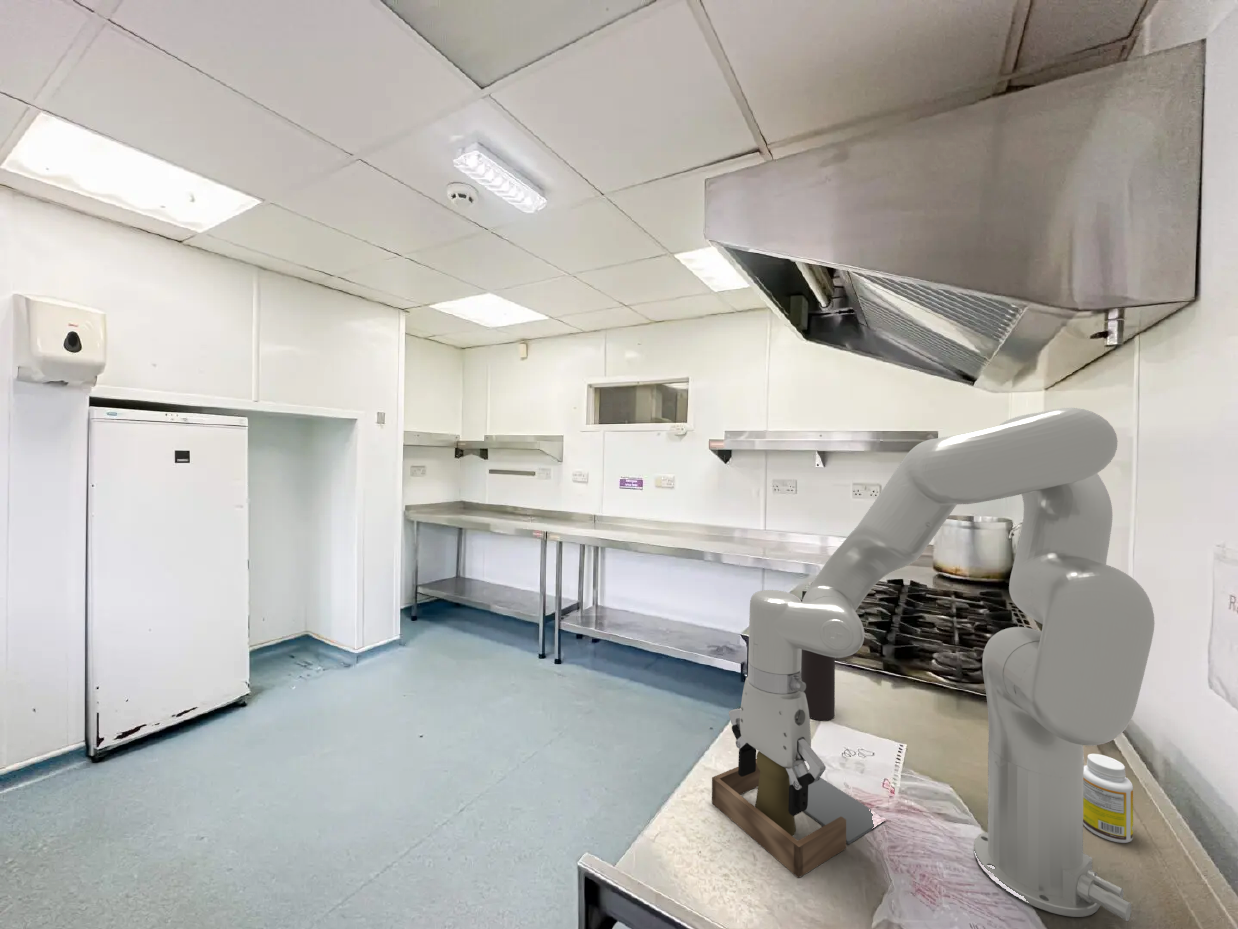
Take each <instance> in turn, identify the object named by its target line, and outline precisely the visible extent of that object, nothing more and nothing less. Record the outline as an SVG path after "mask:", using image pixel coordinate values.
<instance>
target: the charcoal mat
mask: <svg viewBox="0 0 1238 929" xmlns="http://www.w3.org/2000/svg"><path fill="white" fill-rule="evenodd" d="M794 767H795V770H796V772H797V774H798V776H799V777H801V776H802V775H801V773H800V771H799V769H798V767H797V766H794ZM789 780H790V785H792V781H791V779H790V777H789ZM869 809H870V811H869ZM802 813H804V814H805V815H807V816H808V817H811V819H813V820H814V821H815V822H817V823H818V824H819V825H821V827H823V826H825V825H826V824H828V823H830V822H832V821H834V820H835V819H837V818H839V817H843V818H844V819H846V845H847V844H848V845H850V844H851V843H854V842H855V841H856V840H858V839H859V838H861V837H863V836H865V835H866V834H868V833H870V832H871V831H873V830H872V828H873V827H874V824H873V820H872V816H873V814H872V813H871V808H870V807H868V806H867V805H865V804H863V803H862V802H860V801H859V800H857V799H856V798H854V797H852V796H851V795H849V794H848V793H846V792H845V791H843V790H841V789H840V788H838V787H837V786H835V785H833V784H832V783H830V782H828V781H827V780H825V779H824V778H822V776H821V777H820V779H819V780H818V781H816V782H814V783H812V784H810V785H808V806H807V809H806V810H805V811H803V812H802Z"/></svg>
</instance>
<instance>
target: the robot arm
mask: <svg viewBox="0 0 1238 929" xmlns="http://www.w3.org/2000/svg"><path fill="white" fill-rule="evenodd" d="M1118 442H1119V441H1118V435H1117V432H1116V431H1115V429H1114V427H1113V425H1112V424H1111V423H1110V422H1109V421H1108V420H1107V419H1105V418H1104V417H1102V416H1101V415H1100V414H1098V413H1095V412H1093V411H1091V410H1087V409H1084V408H1077V407H1061V408H1055V409H1050V410H1045V411H1040V412H1039V411H1038V412H1034V413H1027V414H1024V415H1018V416H1015V417H1012V418H1010V419H1007V420H1006V421H1004V422H1001V423H1000V424H999V425H996V426H992V427H988V428H983V429H979V430H975V431H971V432H966V433H965V432H964V433H961V434H956V435H950V436H944V437H938V438H931V439H927V440H924V441H922V442H920V443H918V444H916V445H915V446H913V448H911V449H910V450H909V451H908V452H907V454H906V455H905V457H904V458H903V459H902V460H901V462H900V464H899V465H898V466H897V468H896V469H895V471H894V472H893V474H892V475H891V477H890V478H889V479H888V480H887V482H886V484H884V487H883V489H882V490H881V491H880V493H879V494H878V495H877V497H876V499H875V500H874V502H873V503H872V505H871V506H870V507H869V509H868V510H867V512H866V513H865V514H864V516H863V518H862V519H861V520H860V522H859V523H858V524H857V526H856V527H855V528H854V529H853V530H852V531H851V532H850V533H849V534H848V535H847V537H846V538H845V540H844V541H843V542H842V543H841V544H840V545H839V546H838V547H837V549H836V550H835V551H834V552H833V554H832V555H831V556H830V557H829V559H828V560H827V561H826V562H825V564H824V565H823V567H822V568H821V570H820V571H819V572H818V574H817V575H816V576H815V578H814V580H813V582H812V583H811V584H810V585H809V588H807V591H806V592H805V594H804V596H803V598H802V600H801V599H800V598H799V597H798V596H797V595H795V594H793V593H792V592H788V591H785V590H777V589H775V590H774V589H763V590H759V591H756V592H755V593H753V594H752V596H751V597H750V602H749V621H748V622H749V623H748V624H749V626H748V654H747V655H748V663H747V677H746V678H745V680H744V685H743V690H742V696H741V703H740V708H734V709H732V710H729V711H728V716H729V720H730V723H731V725H732V726H731V731H732V734H733V735H734V737H735V746H736V748H737V749H738V762H737V763H738V766H737V767H738V774H739V775H740V776H741V777H744V776H746V775H748V774H751V773H753V772H755V771H756V759H757V752H758V751H760V752H761V753H762V754H764V755H765V756H767V757H768V758H770V759H771V760H773V761H774V762H776V763H777V764H779V765H781V766H782V767H784V768H786V770H787V772H788V775H789V777H790V779H791V781H792V785H790V786H789V805H788V811H789V814H791V815H792V816H794V817H795V816H797V815H799V814H800V813H804V812H803V811H805V810H806V809H807V806H808V785H810V784H812V783H814V782H816V781H818V780H819V779H820V777H821V778H822V776H823V773H824V772H826V771H825V770H826V768H827V767H826V765H825V763H824V762H823V761H822V759H821V758H820V757H819V755H818V754H816V752H815V751H814V750H813V748H812V737H811V736H812V734H811V731H812V730H811V721H810V720H811V718H810V717H809V709H808V704H807V699H806V695H805V693H804V691H805V689H806V684H805V683H804V682H802V680H801V657H802V649H804V650H807V651H811V652H814V653H817V654H821V655H824V656H829V657H835V659H836V658H839V659H841V658H842V659H843V658H847V657H851V656H853V655H855V654H856V653H857V652H858V651H859V650H860V649H861V647H862V646H863V644H864V641H865V629H864V625H863V622H862V620H861V619H860V617H859V614H858V613H857V612H856V611H857V610H858V608H859V607H860V605H861V604H862V603H863V601H864V600H865V598H866V597H867V596H868V594H869V593H870V592H871V590H872V589H873V588H874V587H875V586H876V584H878V583H879V581H881V580H882V579H883V578H884V577H886V576H887V575H889V574H890V573H893V572H895V571H897V570H899V569H903V568H905V567H907V566H909V565H911V564H913V563H915V562H916V561H917V560H918V559H919V558H920V557H921V556H922V555H923V553H924V551H925V550H926V548H927V547H928V546H929V545H930V543H931V542H932V540H933V539H934V538H935V536H936V535H937V534H938V532H939V531H940V529H941V528H942V526H943V525H944V524H945V522H947V521H946V520H947V519H948V517H949V516H950V515H951V514H952V512H953V511H954V510H955V508H956V507H957V505H972V504H979V503H985V502H990V501H995V500H1001V499H1004V498H1005V499H1006V498H1011V497H1014V496H1020V495H1021V497H1022V501H1023V502H1022V503H1023V515H1022V516H1023V519H1022V524H1021V530H1020V536H1019V539H1018V544H1017V548H1016V551H1015V556H1014V560H1013V565H1012V569H1011V573H1010V578H1009V584H1008V585H1009V586H1008V591H1009V596H1010V598H1011V600H1012V602H1013V604H1014V605H1015V606H1016V607H1017V609H1019V610H1020V611H1021V612H1022V613H1024V614H1025V615H1026V616H1028V617H1029V618H1031V619H1032V620H1034V621H1036V622H1037V623H1039V624H1041V625H1042V628H1041V630H1039V629H1034V628H1030V627H1023V626H1013V627H1007V628H1005V629H1001V630H1000V631H998V632H996V633H994V634H993V635H992V636H991V637H990V638H989V639H988V641H987V643H986V645H985V647H984V650H983V653H982V675H983V682H984V688H985V693H986V694H985V695H986V701H987V702H986V703H987V715H988V716H987V720H988V723H987V725H988V743H987V746H988V747H987V748H988V750H987V751H988V752H987V756H988V757H987V759H988V761H987V769H988V770H987V831H986V832H982V833H981V834H978V836H976V837H975V839H974V842H973V852H974V851H975V853H976V856H977V858H978V859H979V861H980V862H981V864H982V865H984V867H985V868H986V869H987V870H988V871H990V872H991V873H993V874H994V876H995V877H997V878H998V879H999V881H1001V882H1002V883H1003V884H1005V885H1006V886H1007V887H1009V888H1010V889H1012V890H1013V891H1015V892H1016V893H1018V894H1019V895H1021V896H1024V898H1025V899H1026V901H1028V902H1029V904H1028V905H1031V906H1033V907H1034V908H1038V909H1040V910H1043V911H1045V912H1047V913H1052V914H1055V915H1060V916H1066V917H1073V918H1075V917H1077V918H1079V917H1081V918H1082V917H1087V916H1091V915H1093V914H1094V913H1096V912H1098V910H1099V909H1100V907H1103V908H1105V910H1107V911H1109V912H1110V913H1113V914H1114V915H1115V916H1117V917H1119V918H1121V919H1122V920H1124V921H1126V922H1129V920H1130V918H1131V915H1132V903H1131V902H1129V901H1128V900H1125V899H1124V888H1123V887H1120V886H1119V885H1117V884H1115V883H1113V882H1112V881H1110V880H1107V879H1105V878H1102V877H1101V876H1099V875H1098V873H1097V872H1096V871H1094V870H1093V857H1092V856H1090V855H1088V854H1086V853H1084V825H1083V772H1084V766H1085V762H1084V761H1085V756H1084V746H1088V747H1090V746H1092V747H1093V746H1099V745H1104V744H1106V743H1109V742H1112V741H1114V740H1115V739H1116V738H1118V737H1119V736H1120V735H1121V734H1122V733H1123V732H1124V731H1125V730H1126V729H1127V727H1128V726H1129V724H1130V722H1131V721H1132V719H1133V717H1134V713H1135V711H1136V708H1137V704H1138V700H1139V696H1140V694H1141V693H1140V692H1141V689H1142V688H1141V687H1142V684H1143V681H1144V675H1145V672H1146V669H1147V664H1148V658H1149V656H1150V651H1151V646H1152V642H1153V638H1154V633H1155V632H1154V631H1155V614H1154V610H1153V609H1154V608H1153V605H1152V603H1151V600H1150V597H1149V596H1148V594H1147V592H1146V591H1145V589H1144V587H1142V586H1141V585H1140V583H1138V581H1137V580H1135V579H1134V578H1133V577H1132V576H1131V575H1129V574H1128V573H1126V572H1124V571H1122V570H1121V569H1118V568H1116V567H1114V566H1111V565H1108V564H1107V560H1108V555H1109V554H1108V553H1109V547H1110V541H1111V534H1112V526H1113V506H1112V504H1113V503H1112V500H1111V497H1110V494H1109V492H1108V490H1107V487H1106V485H1105V483H1104V482H1103V480H1102V477H1101V476H1100V475H1099V473H1100V472H1101V471H1102V470H1105V468H1106V467H1107V466H1108V465H1109V464H1111V462H1112V460H1113V459H1114V457H1115V455H1116V452H1117V450H1118ZM806 763H807V764H806ZM807 765H808V766H807ZM794 766H797V767H798V769H799V771H800V773H801V775H802V776H801V777H799V776H798V774H797V772H796V770H795V767H794ZM808 767H809V768H808ZM987 865H992V866H994V867H995V869H992V868H990V867H988V866H987Z"/></svg>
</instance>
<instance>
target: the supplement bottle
mask: <svg viewBox="0 0 1238 929" xmlns="http://www.w3.org/2000/svg"><path fill="white" fill-rule="evenodd" d="M1083 827H1085V828H1086V829H1087V830H1088V831H1090V832H1091V833H1092V834H1095V835H1096V836H1099V837H1100V838H1101V839H1102V838H1103V839H1104V840H1107V841H1110V842H1113V843H1114V842H1115V843H1120V844H1121V843H1122V844H1127V843H1130V842H1132V841H1133V839H1134V787H1133V783H1132V782H1131V780H1130V779H1129V778H1128V777H1126V766H1125V765H1124V763H1122V762H1121V761H1119V760H1117V759H1115V758H1112V757H1110V756H1107V755H1104V754H1100V753H1088V754H1087V758H1086V765H1085V764H1084V772H1083Z"/></svg>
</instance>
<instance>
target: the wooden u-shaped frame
mask: <svg viewBox="0 0 1238 929" xmlns="http://www.w3.org/2000/svg"><path fill="white" fill-rule="evenodd" d="M759 776H760V770H759V769H758V766H757V758H756V771H755V772H753V773H751V774H748V775H746V776H744V777H741V776H740V775H739V774H738V766H736V767H734V768H732V769H729V770H727V771H724V772H721V773H719V774H717V775H715V776H712V777H711V803H712V805H714V806H715V807H716V808H717V809H719V810H720V811H721V812H722V813H723V814H724V815H725V816H726V817H728V818H729V819H730V820H731V821H732V822H733V823H734V824H736V825H737V826H738V827H739V828H740V829H741V830H743V831H744V832H745V833H746V834H748V836H749V837H750V838H752V839H753V840H754V841H755V842H756V843H757V844H759V845H760V846H761V847H762V848H763V849H764V850H766V851H767V852H768V853H769V854H770V855H771V856H772V857H774V858H775V859H776V860H777V861H778V862H779V863H780V864H781V865H783V866H784V867H785V868H787V870H788V871H790V873H792V874H793V875H794V876H795V877H796V878H798V879H800V878H801V877H804V875H806V874H808V873H809V872H811V871H813V870H814V869H816V868H817V867H818V866H821V865H822V864H824V863H825V862H827V861H829V860H830V859H832V858H833V857H835V856H837V855H838V854H840V853H841V852H843V851H845V850H846V849H847V843H846V819H844V818H843V817H839V818H837V819H835V820H834V821H832V822H830V823H828V824H826V825H825V826H821V827H819V828H817V829H816V830H814V831H812V832H810V833H809V834H807V835H805V836H804V837H802V838H800V839H796V838H795V837H794V836H791V835H790V834H789V833H787V832H786V831H785V830H784V829H782V828H781V827H780V826H779V825H777V824H776V823H775V822H774V821H772V820H771V819H770V818H769V817H767V816H766V815H765V814H763V813H762V812H761V811H760V810H758V809H757V808H756V807H755V805H754V804H753V803H751V802H749V800H747V799H746V798H745V797H744V796H742V794H744V793H746V792H749V791H751V790H754V789H755V788H758V783H759Z"/></svg>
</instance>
